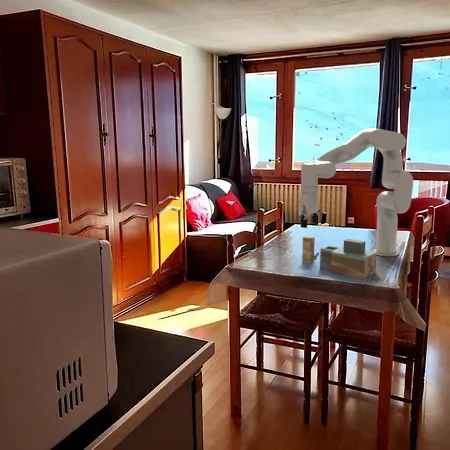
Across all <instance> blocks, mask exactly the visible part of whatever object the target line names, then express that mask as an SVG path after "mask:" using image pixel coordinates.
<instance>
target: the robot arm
mask: <svg viewBox="0 0 450 450" xmlns="http://www.w3.org/2000/svg"><path fill="white" fill-rule="evenodd" d="M406 143H407V140H406V137H405V136H404V134H402V133H400V132H396V131H392V130H386V129H381V128H366V129H365V128H364V129H362V130H360V131H359V132H358V133H356V134H355V135H354V136H352V137H351V138H349V139H348V140H347V141H345V142H344V143H343V144H340V145H339V146H337V147H335V148H333V149H331V150H329V151H327V152H325V153H324V154H322V155H321V156H319V157H318V158H317V159H316V160H314V161H313V162H303V163H302V164H301V166H300V180H301V181H300V184H301V185H300V188H301V189H300V191H301V193H300V196H299V208H298V210H297V211H298V217H299V219H300V228H304V229H307V228H308V219H307V218H308V216H309V215H311V224H312V225H319V217H320V212H321V205H320V204H319V202H320V201H319V194H318V193H319V192H318V191H319V185H318V184H319V182H318V180H319V179H329V178H330V179H331V178H332V177H334V176H335V174H336V172H337V168H336V165H338V164H343V163H346V162H350V161H352V160H354V159H355V158H357V157H358V156H359V155H361V154H363V152H365V151H366V150H367V149H369V148H376V149H377V150H378V151H379V152H380V153H381V154H382V157H383V167H382V178H381V184H382V186H383V188H386V189H390V190H391V191H389V190H386V191H385V190H384V191H382V192H380V193H379V194H378V195H377V198H376V201H375V202H376V203H375V204H376V209H377V212H376V213H377V222H376V239H375V240H376V241H375V248H374V249H372V252H377V255H376V256H380V257H397V256H399V254H400V251H398V250H397V247H398V243H397V240H398V239H397V234H398V223H399V222H398V221H399V220H398V218H399V217H398V214H404V213H406V212H407V211H408V210H409V209H410V207H411V203H412V198H413V197H412V196H413V189H414V178H413V176H412V173H410V172H409V171H408V170H404V169H403V155H402V152H401V151H402V150H403V149H404V148H405V146H406ZM392 190H393V191H392Z"/></svg>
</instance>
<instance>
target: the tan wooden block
mask: <svg viewBox="0 0 450 450" xmlns="http://www.w3.org/2000/svg"><path fill="white" fill-rule="evenodd" d="M315 238H316V237H315V236H310V235H307V236H303V237H302V256H301V258H302V260H301V262H302V263H305V264H312V263H314V262H315V260H314V255H315V242H316V239H315Z"/></svg>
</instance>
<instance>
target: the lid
mask: <svg viewBox="0 0 450 450" xmlns="http://www.w3.org/2000/svg"><path fill="white" fill-rule="evenodd" d="M330 249H333V250H330ZM320 251H323V252H329V253H332V255H336V256H341V257H346V258H352V259H357V260H362V261H365V260H367V259H369V258H371V257H373V256H376V257H377V256H378V255H377V252H373V250H366V241H363V240H360V239H359V240H357V239H353V238H352V239H351V238H346V239H344V240H343V247H339V246H333V245H326V246H323V247H321V248H320Z"/></svg>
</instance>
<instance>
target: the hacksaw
mask: <svg viewBox="0 0 450 450" xmlns="http://www.w3.org/2000/svg"><path fill="white" fill-rule="evenodd" d="M319 255H320V252H316V254H314V261H315V260H317V257H318V256H319Z"/></svg>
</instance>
